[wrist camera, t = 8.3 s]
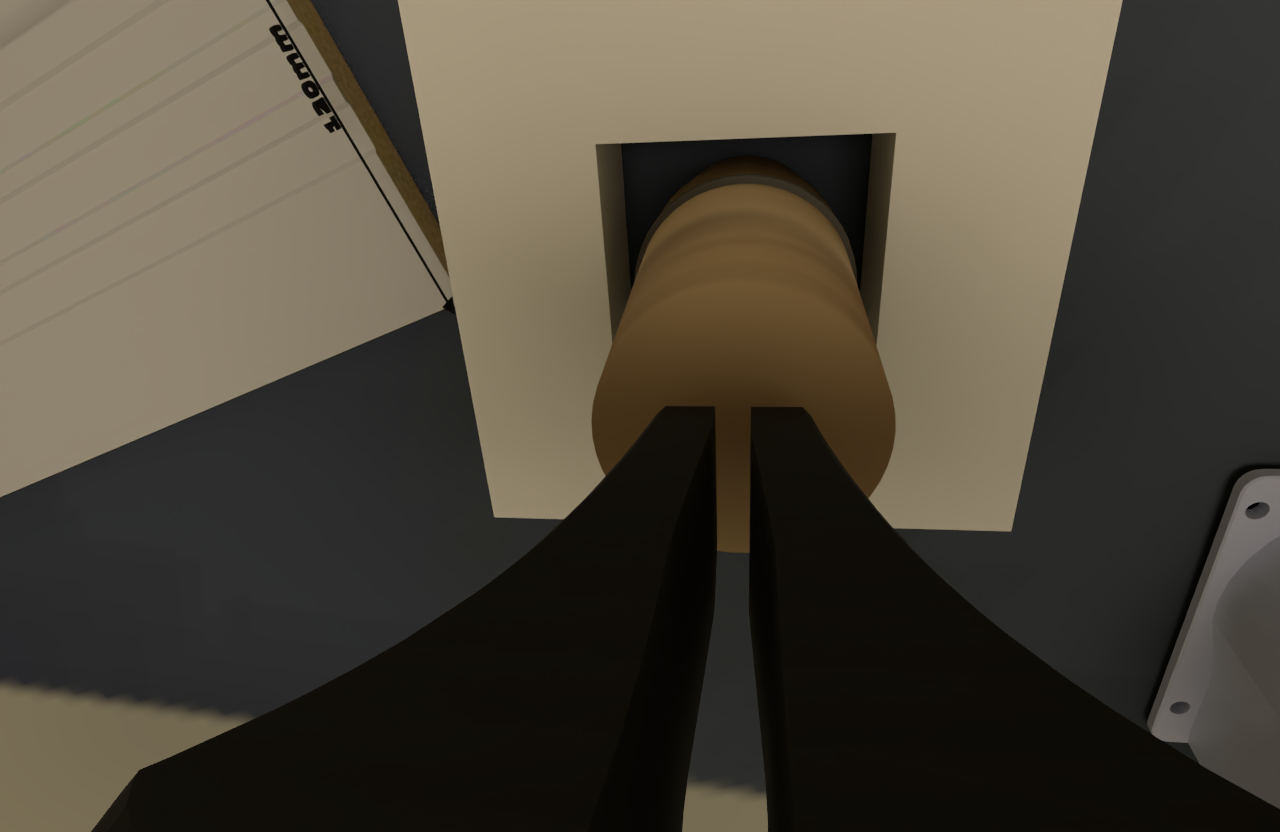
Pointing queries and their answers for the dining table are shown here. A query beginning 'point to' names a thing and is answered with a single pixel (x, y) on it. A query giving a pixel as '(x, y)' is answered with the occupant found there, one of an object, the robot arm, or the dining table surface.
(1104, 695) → the dining table surface
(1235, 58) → the dining table surface
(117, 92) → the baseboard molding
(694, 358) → the oak peg
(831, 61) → the socket board
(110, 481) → the dining table surface
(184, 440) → the dining table surface
